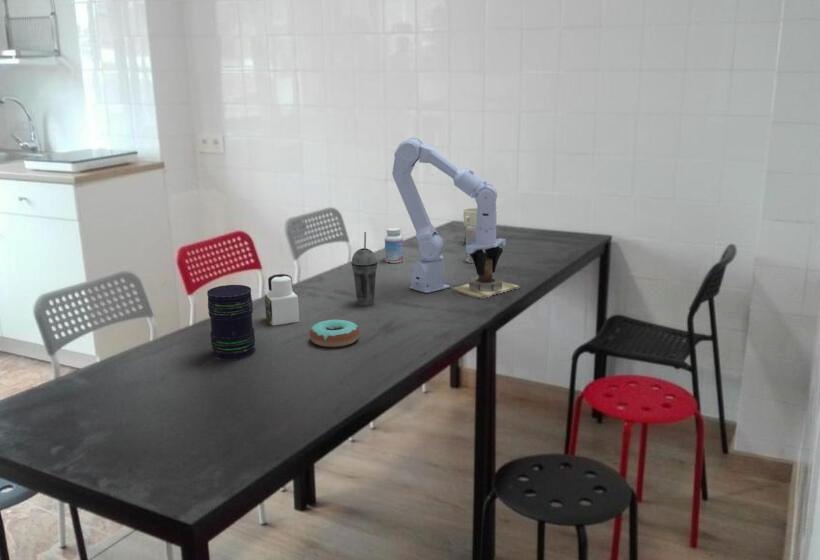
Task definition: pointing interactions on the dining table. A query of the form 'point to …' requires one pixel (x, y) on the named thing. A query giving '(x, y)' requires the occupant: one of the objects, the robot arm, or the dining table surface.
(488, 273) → the walnut peg
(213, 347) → the storage jar
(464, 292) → the socket board
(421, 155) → the robot arm
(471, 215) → the character mug
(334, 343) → the donut
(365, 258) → the beverage cup
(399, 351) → the dining table surface
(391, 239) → the pill bottle
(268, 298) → the white handled container
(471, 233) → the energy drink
